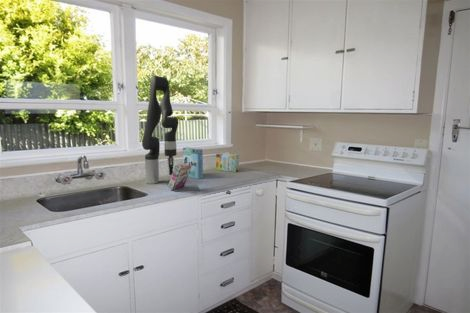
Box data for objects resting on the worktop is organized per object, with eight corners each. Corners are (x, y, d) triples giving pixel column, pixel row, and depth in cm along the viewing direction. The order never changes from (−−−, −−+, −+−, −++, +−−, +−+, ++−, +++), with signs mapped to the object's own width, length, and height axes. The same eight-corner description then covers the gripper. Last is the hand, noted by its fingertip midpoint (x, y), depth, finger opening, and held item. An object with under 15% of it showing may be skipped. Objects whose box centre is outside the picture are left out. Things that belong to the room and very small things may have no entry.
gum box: (203, 178, 237) (203, 149, 234) (197, 179, 234) (197, 149, 231) (188, 174, 251) (187, 147, 248) (183, 175, 248) (182, 147, 245)
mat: (173, 186, 210) (173, 185, 209) (196, 185, 214) (196, 184, 214) (175, 191, 195) (175, 190, 195) (199, 190, 199) (199, 189, 199)
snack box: (239, 171, 268) (239, 154, 266) (235, 172, 263) (235, 155, 261) (219, 169, 279) (219, 152, 277) (215, 170, 274) (215, 153, 272)
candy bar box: (172, 190, 197) (180, 168, 191) (167, 186, 199) (175, 164, 193) (184, 186, 206) (192, 166, 200) (179, 182, 208) (186, 162, 203)
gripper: (164, 147, 202) (164, 173, 204) (164, 149, 189) (165, 176, 192) (175, 147, 204) (176, 172, 206) (177, 149, 191) (177, 176, 193)
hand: (171, 174), depth 199 cm, fingers closed
